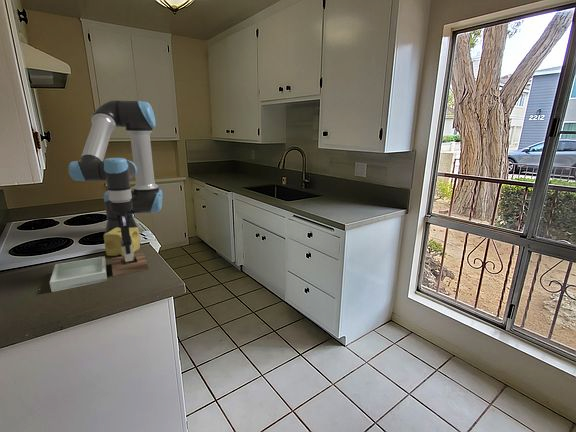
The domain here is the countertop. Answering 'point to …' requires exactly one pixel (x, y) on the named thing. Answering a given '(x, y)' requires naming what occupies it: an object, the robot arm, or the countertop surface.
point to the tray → (78, 273)
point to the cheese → (115, 237)
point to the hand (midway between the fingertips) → (128, 257)
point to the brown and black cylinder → (123, 253)
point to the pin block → (129, 265)
